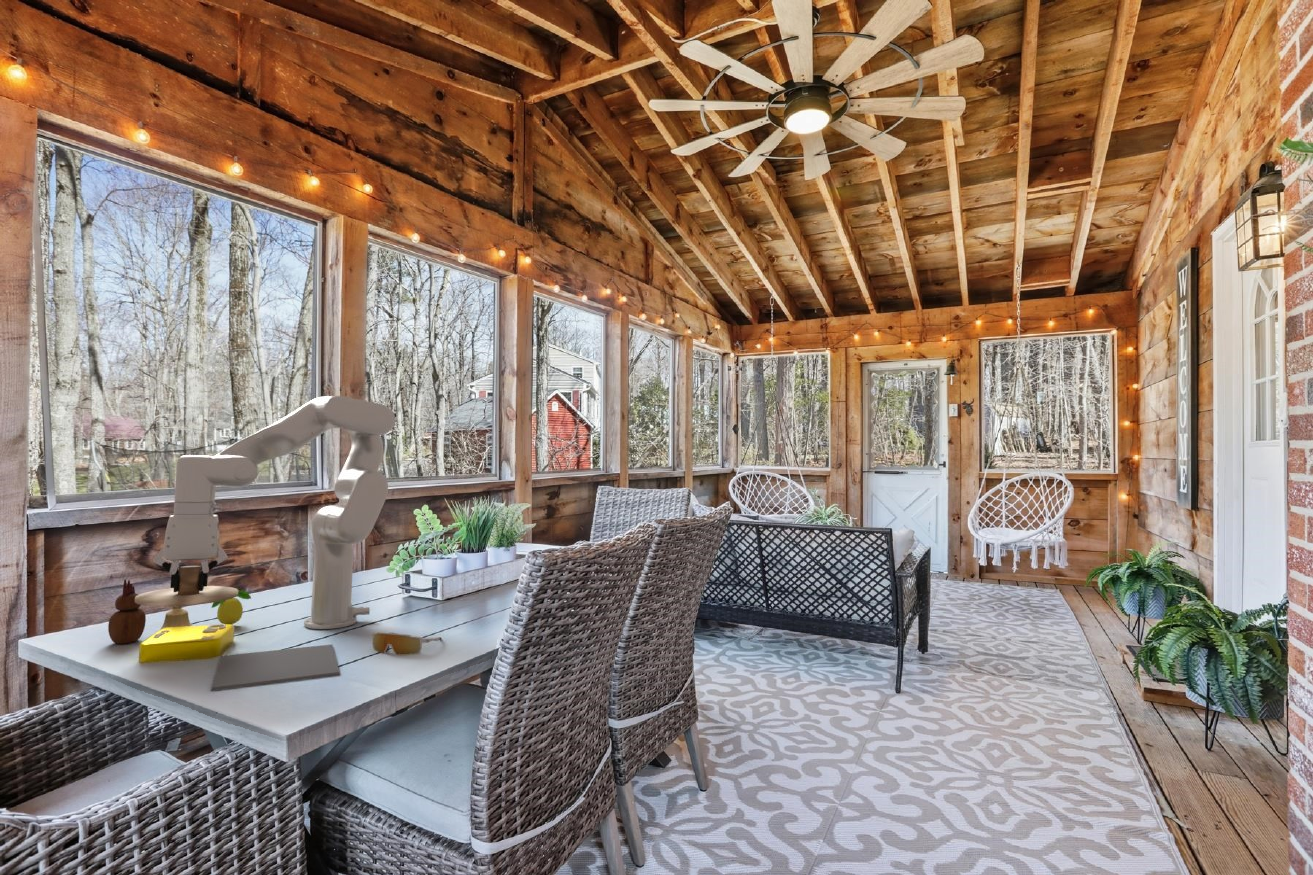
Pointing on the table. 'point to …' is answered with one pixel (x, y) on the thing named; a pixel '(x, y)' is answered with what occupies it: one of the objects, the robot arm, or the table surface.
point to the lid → (187, 591)
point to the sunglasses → (399, 643)
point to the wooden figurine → (127, 617)
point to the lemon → (231, 608)
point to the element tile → (186, 643)
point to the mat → (275, 666)
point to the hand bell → (176, 618)
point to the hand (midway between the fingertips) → (188, 589)
